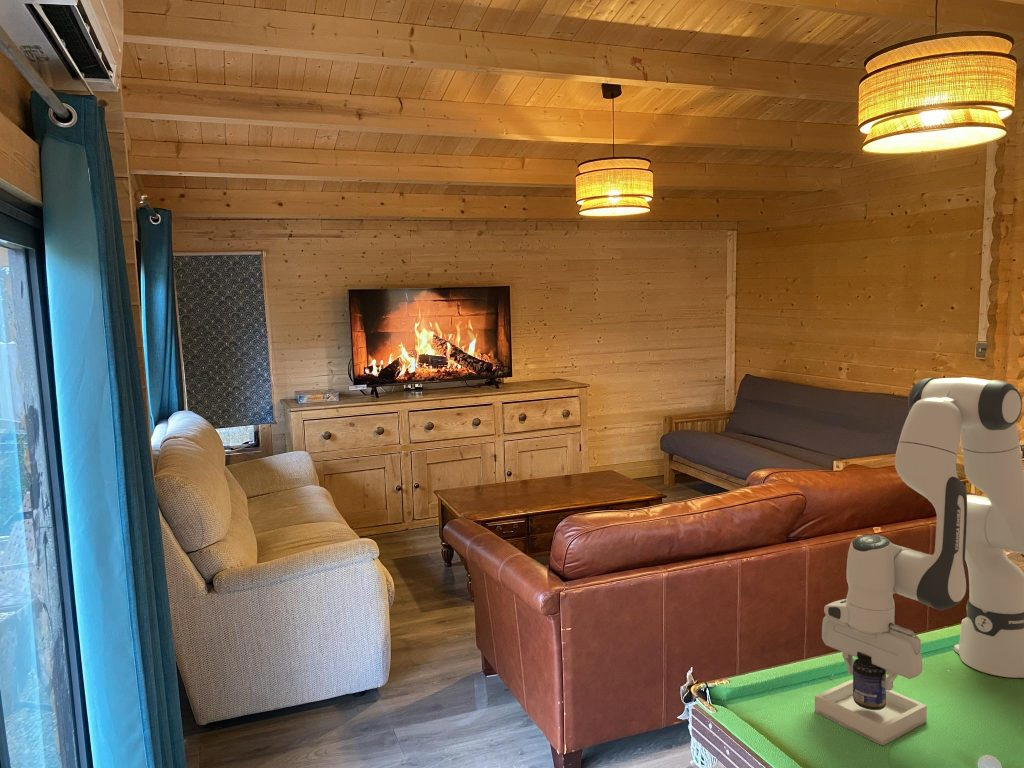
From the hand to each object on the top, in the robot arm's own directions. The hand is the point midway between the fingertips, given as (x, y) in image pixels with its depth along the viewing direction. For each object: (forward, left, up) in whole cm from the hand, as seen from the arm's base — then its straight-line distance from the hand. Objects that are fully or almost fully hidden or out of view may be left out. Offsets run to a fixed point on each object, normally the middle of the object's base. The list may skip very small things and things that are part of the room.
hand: (869, 681), depth 151 cm
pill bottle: (0, 0, -5) cm, 5 cm away
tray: (0, 0, -8) cm, 8 cm away
